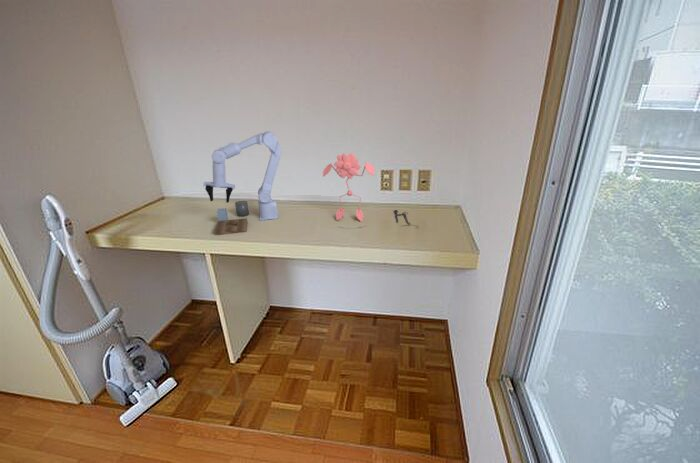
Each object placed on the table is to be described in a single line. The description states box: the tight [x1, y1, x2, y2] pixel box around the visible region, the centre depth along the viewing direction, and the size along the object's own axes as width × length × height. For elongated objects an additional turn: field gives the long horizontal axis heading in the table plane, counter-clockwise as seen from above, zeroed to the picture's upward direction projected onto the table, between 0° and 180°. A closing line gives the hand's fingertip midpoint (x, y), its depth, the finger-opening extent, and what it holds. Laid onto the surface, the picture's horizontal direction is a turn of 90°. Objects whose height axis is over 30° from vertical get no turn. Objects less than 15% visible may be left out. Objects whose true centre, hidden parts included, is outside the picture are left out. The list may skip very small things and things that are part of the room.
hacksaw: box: [393, 209, 419, 229], centre depth 165 cm, size 24×10×2 cm, turn 177°
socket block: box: [214, 217, 249, 236], centre depth 158 cm, size 14×12×2 cm
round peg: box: [234, 200, 250, 218], centre depth 175 cm, size 6×6×7 cm
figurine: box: [322, 152, 376, 229], centre depth 155 cm, size 15×26×35 cm, turn 78°
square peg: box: [216, 207, 229, 221], centre depth 165 cm, size 4×4×7 cm
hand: (219, 201), depth 162 cm, fingers open, 7 cm apart
